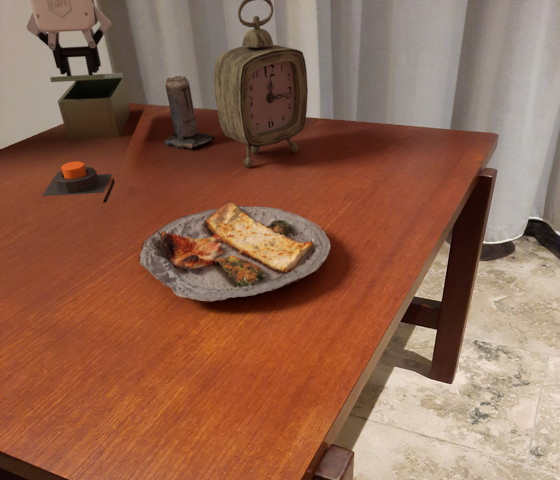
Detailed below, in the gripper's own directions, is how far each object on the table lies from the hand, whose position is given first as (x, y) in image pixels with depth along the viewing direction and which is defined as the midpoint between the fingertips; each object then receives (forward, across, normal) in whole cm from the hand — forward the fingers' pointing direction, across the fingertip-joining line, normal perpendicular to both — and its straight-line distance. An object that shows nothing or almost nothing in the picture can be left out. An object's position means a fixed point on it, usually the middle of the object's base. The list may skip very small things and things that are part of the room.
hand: (80, 70), depth 103 cm
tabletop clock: (+13, +33, -12) cm, 38 cm away
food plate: (+13, +28, -50) cm, 59 cm away
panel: (+13, +2, -26) cm, 29 cm away
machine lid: (+3, 0, +5) cm, 6 cm away
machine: (+13, 0, +6) cm, 14 cm away
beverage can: (+13, +19, -3) cm, 24 cm away
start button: (+10, +2, -26) cm, 28 cm away
